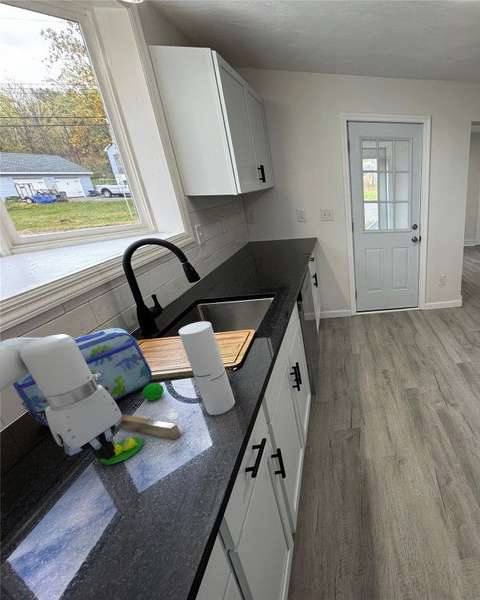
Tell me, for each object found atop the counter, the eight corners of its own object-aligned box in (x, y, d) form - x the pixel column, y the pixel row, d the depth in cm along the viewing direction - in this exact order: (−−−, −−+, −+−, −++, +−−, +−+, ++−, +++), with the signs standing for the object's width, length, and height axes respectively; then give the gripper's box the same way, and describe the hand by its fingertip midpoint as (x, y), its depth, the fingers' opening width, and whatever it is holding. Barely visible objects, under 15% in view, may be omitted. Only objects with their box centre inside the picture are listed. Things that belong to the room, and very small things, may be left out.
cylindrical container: (208, 402, 91) (181, 325, 81) (235, 395, 93) (212, 319, 84) (205, 418, 84) (175, 336, 75) (234, 410, 87) (209, 330, 78)
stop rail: (122, 428, 82) (117, 418, 81) (128, 424, 84) (123, 413, 83) (175, 439, 78) (170, 428, 77) (181, 434, 79) (176, 424, 78)
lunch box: (41, 439, 80) (-1, 370, 73) (35, 422, 87) (-5, 357, 79) (158, 385, 100) (134, 326, 92) (146, 374, 106) (123, 318, 98)
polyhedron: (152, 405, 91) (146, 391, 89) (141, 401, 93) (135, 388, 91) (169, 394, 95) (164, 381, 93) (159, 391, 97) (153, 378, 95)
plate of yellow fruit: (141, 433, 80) (137, 425, 79) (146, 451, 75) (142, 442, 74) (100, 452, 75) (95, 443, 74) (102, 472, 70) (97, 463, 69)
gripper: (99, 369, 73) (129, 430, 80) (12, 414, 60) (57, 482, 67) (123, 373, 71) (151, 434, 78) (38, 420, 58) (81, 489, 65)
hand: (107, 456), depth 72 cm, fingers closed
